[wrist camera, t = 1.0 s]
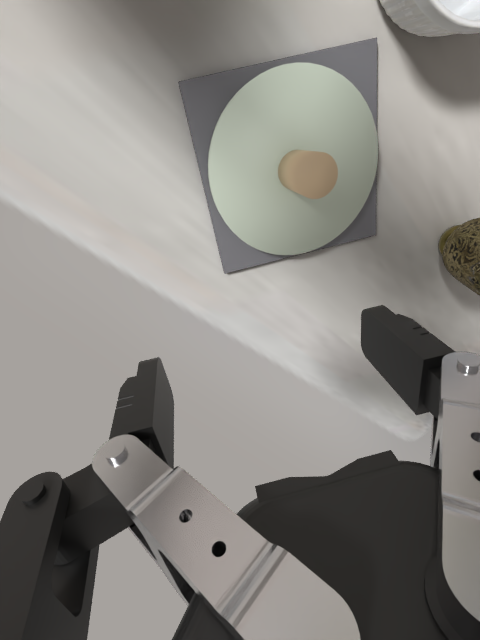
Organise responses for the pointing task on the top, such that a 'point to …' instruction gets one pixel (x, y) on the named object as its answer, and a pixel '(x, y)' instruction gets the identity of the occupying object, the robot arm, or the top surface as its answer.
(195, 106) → the mat
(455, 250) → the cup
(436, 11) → the ramekin
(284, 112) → the lid
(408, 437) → the top surface
